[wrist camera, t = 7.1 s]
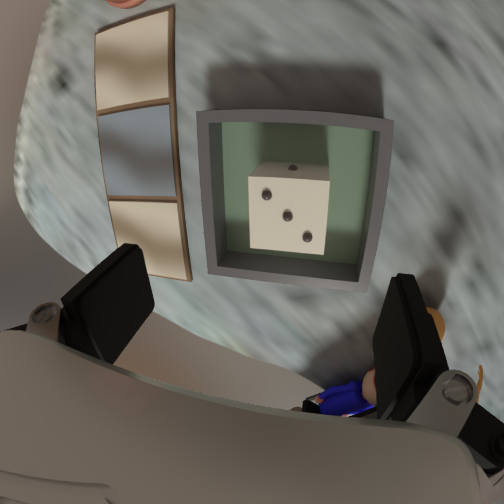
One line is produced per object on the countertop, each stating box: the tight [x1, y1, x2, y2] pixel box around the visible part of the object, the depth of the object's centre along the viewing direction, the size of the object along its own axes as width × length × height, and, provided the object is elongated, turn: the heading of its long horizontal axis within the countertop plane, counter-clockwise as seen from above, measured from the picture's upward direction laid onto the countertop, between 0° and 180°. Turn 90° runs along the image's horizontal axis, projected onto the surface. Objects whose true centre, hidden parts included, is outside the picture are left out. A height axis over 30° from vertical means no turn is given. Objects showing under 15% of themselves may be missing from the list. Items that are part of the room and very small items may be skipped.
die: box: [248, 161, 330, 255], centre depth 18 cm, size 5×5×5 cm
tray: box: [196, 109, 394, 293], centre depth 20 cm, size 12×12×3 cm
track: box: [94, 7, 193, 282], centre depth 22 cm, size 24×8×1 cm, turn 1°
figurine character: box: [291, 366, 377, 419], centre depth 27 cm, size 7×8×15 cm
